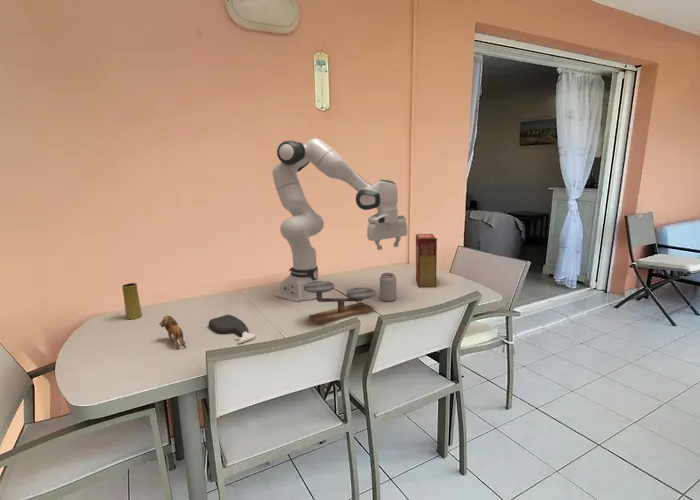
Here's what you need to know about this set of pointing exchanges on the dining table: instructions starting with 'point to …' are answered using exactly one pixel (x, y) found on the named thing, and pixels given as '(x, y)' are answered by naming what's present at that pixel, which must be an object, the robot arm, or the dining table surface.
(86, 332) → the dining table surface
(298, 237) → the robot arm
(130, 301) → the vase
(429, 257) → the food packaging
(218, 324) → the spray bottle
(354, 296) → the scale
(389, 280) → the can
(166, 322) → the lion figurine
